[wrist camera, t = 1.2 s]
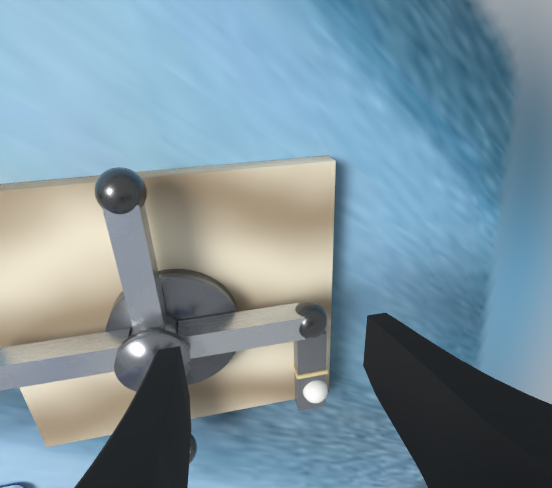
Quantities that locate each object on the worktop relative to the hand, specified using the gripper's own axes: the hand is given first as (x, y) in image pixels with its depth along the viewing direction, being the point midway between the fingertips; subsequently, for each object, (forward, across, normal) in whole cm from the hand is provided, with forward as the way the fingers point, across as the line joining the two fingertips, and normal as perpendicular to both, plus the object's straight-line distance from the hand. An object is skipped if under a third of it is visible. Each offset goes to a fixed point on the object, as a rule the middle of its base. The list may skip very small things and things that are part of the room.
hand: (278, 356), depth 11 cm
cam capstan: (+9, +5, +4) cm, 11 cm away
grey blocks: (+9, -4, +10) cm, 14 cm away
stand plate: (+10, +4, +4) cm, 12 cm away
